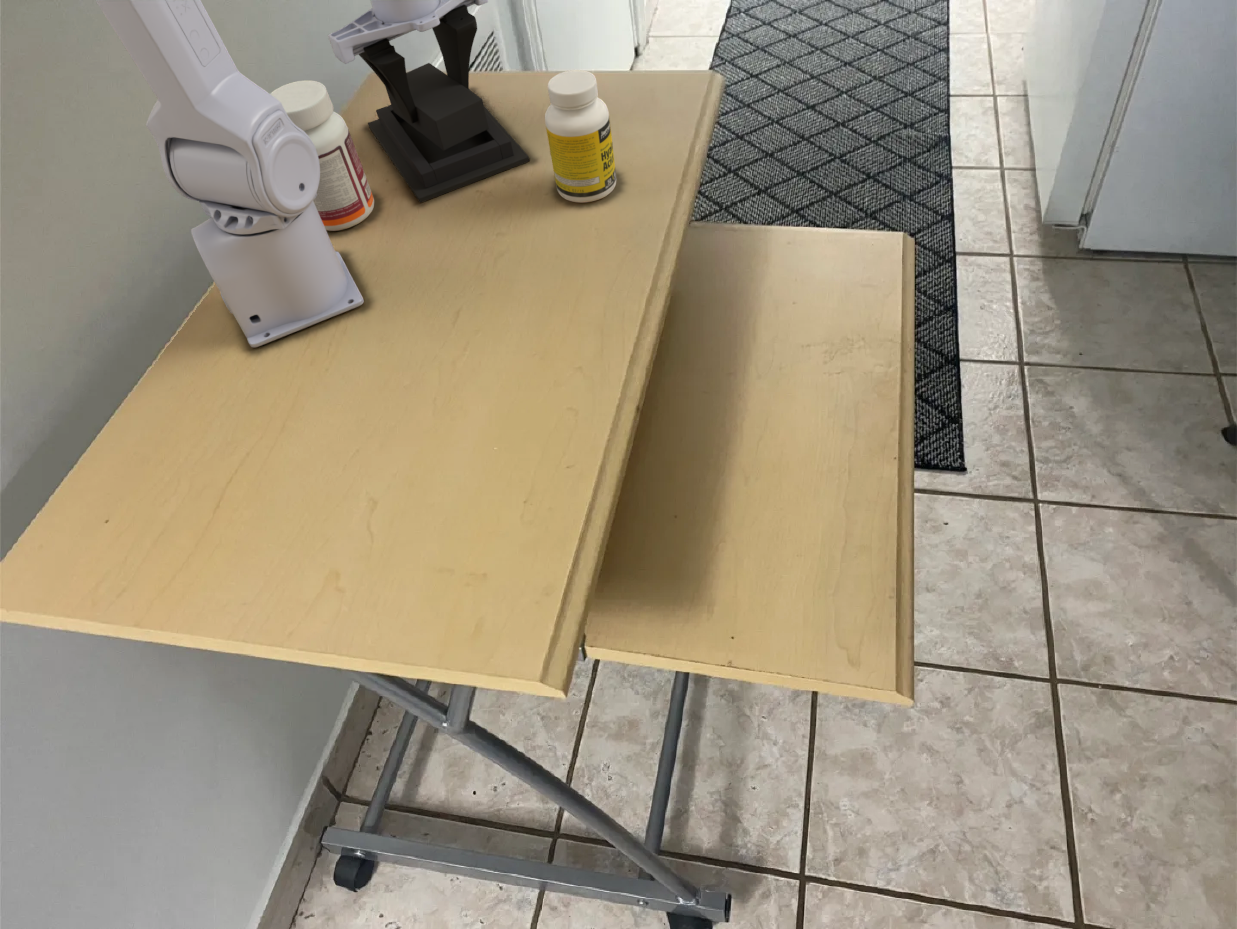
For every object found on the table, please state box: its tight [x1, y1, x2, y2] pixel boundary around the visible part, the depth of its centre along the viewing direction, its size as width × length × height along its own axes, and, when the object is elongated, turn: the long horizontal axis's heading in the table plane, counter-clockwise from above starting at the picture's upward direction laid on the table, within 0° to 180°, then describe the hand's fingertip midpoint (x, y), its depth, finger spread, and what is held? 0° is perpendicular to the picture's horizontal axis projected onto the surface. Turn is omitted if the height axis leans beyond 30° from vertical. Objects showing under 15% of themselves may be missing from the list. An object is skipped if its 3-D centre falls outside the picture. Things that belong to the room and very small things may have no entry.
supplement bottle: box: [544, 69, 617, 204], centre depth 77 cm, size 5×5×10 cm
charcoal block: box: [385, 62, 489, 151], centre depth 85 cm, size 10×5×3 cm, turn 37°
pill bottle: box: [269, 79, 375, 232], centre depth 78 cm, size 6×6×11 cm
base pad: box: [367, 88, 531, 204], centre depth 87 cm, size 16×11×2 cm
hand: (435, 106), depth 85 cm, fingers closed on charcoal block, 5 cm apart
